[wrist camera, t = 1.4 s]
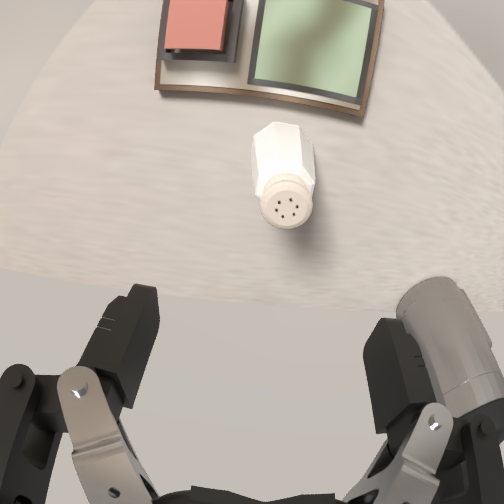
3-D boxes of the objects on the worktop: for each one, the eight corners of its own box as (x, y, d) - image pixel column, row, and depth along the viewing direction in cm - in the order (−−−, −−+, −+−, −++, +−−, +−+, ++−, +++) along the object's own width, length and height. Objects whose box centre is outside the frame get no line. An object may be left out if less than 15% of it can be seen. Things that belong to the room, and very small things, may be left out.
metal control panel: (380, -1, 16) (390, -6, 14) (360, 115, 23) (368, 120, 21) (171, -27, 16) (162, -34, 14) (158, 88, 22) (148, 91, 20)
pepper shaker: (258, 185, 27) (250, 258, 18) (242, 128, 24) (222, 172, 15) (318, 173, 26) (342, 242, 17) (306, 114, 23) (329, 150, 14)
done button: (229, 3, 16) (226, -2, 15) (223, 50, 19) (219, 49, 17) (176, 2, 16) (170, -1, 15) (171, 49, 19) (164, 48, 17)
